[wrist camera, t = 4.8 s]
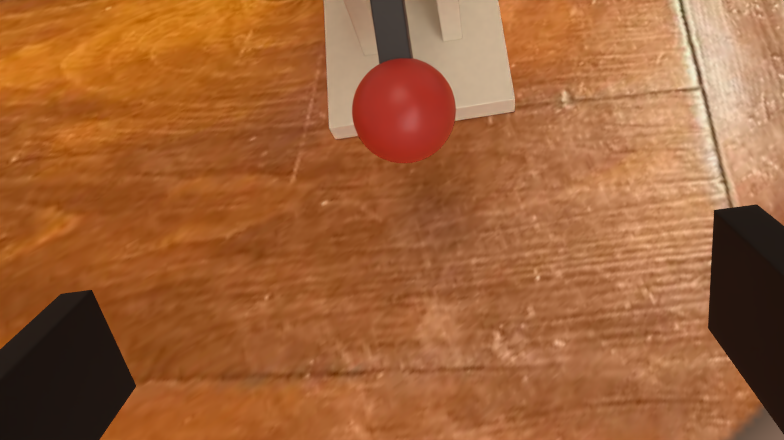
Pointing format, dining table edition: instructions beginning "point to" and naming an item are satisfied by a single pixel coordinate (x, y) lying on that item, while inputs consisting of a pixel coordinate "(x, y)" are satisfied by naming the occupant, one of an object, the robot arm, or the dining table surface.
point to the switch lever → (401, 94)
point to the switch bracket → (422, 54)
